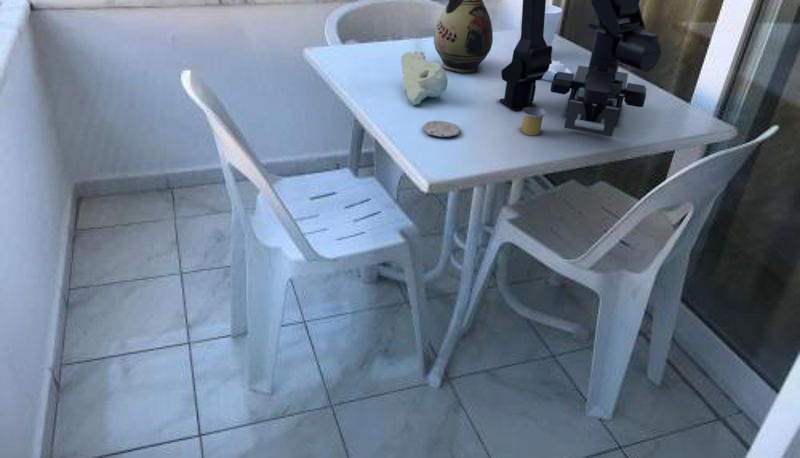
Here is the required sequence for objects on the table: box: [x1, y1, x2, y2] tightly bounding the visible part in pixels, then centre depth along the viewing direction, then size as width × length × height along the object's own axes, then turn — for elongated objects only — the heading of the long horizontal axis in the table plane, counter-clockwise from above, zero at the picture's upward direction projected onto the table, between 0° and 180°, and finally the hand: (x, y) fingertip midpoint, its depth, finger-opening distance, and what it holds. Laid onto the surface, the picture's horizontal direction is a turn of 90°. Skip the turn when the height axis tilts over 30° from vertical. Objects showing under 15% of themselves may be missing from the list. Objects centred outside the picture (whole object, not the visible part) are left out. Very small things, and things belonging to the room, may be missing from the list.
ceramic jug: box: [433, 0, 494, 74], centre depth 165 cm, size 17×15×30 cm
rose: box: [541, 60, 572, 82], centre depth 170 cm, size 10×4×10 cm
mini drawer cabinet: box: [564, 65, 629, 127], centre depth 151 cm, size 14×12×8 cm
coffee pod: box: [521, 106, 547, 136], centre depth 141 cm, size 5×5×5 cm
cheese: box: [400, 50, 449, 106], centre depth 154 cm, size 15×7×15 cm
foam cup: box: [543, 3, 563, 46], centre depth 182 cm, size 10×9×13 cm
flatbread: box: [422, 120, 460, 138], centre depth 139 cm, size 8×8×1 cm
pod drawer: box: [563, 90, 619, 138], centre depth 142 cm, size 17×10×6 cm, turn 161°
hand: (589, 126), depth 137 cm, fingers closed
